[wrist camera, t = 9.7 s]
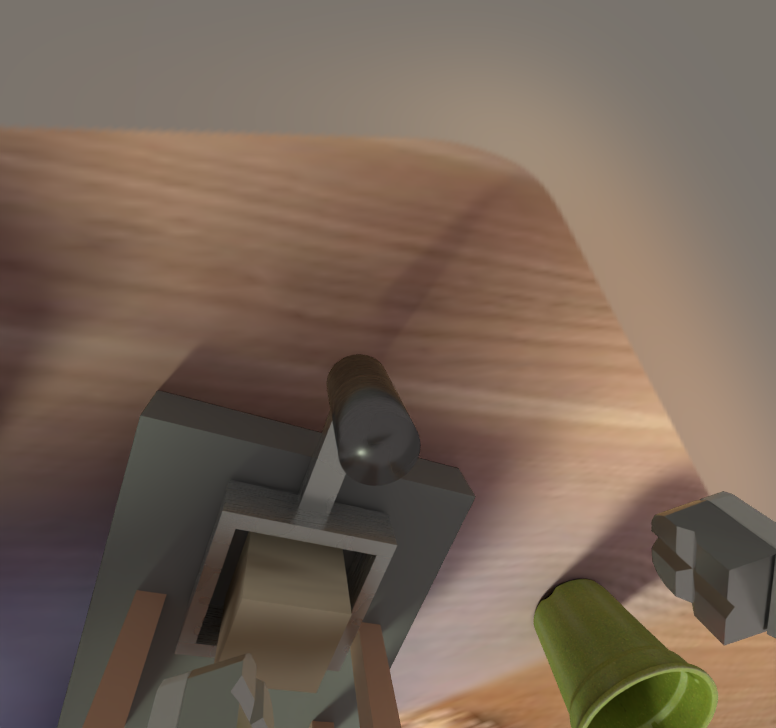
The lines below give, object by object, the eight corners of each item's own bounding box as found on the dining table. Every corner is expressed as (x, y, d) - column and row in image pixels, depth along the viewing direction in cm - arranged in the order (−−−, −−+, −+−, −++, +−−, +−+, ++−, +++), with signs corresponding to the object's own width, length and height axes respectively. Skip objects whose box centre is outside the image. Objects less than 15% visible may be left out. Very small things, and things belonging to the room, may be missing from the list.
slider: (335, 632, 28) (346, 749, 22) (185, 612, 25) (152, 738, 20) (447, 381, 24) (498, 443, 18) (280, 327, 21) (275, 379, 15)
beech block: (312, 609, 27) (316, 693, 23) (225, 596, 26) (210, 683, 21) (341, 540, 26) (351, 614, 22) (251, 522, 25) (242, 598, 20)
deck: (301, 795, 37) (302, 843, 35) (48, 789, 32) (25, 845, 29) (458, 468, 30) (475, 496, 27) (157, 390, 24) (140, 415, 22)
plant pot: (633, 548, 35) (733, 653, 27) (618, 640, 38) (704, 758, 30) (515, 571, 34) (584, 690, 26) (510, 665, 37) (570, 796, 29)
